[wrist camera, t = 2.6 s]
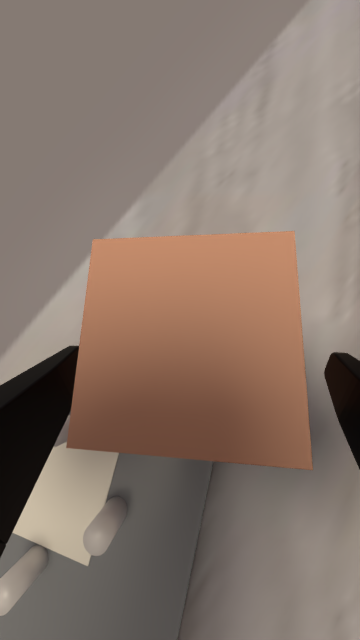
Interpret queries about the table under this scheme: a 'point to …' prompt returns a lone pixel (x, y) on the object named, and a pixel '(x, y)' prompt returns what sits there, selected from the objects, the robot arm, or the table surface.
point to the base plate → (103, 547)
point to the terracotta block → (193, 351)
